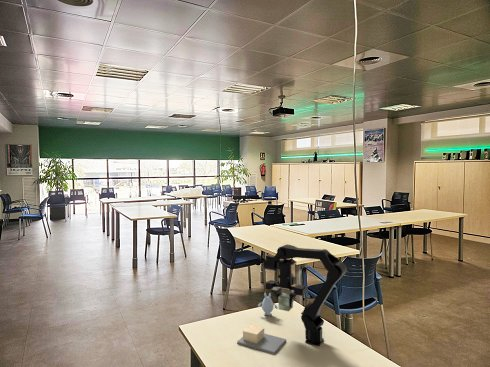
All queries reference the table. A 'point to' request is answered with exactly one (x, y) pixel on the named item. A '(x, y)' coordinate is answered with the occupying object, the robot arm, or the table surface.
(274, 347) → the build plate
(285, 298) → the sage block
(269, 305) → the toy figure
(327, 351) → the table surface
